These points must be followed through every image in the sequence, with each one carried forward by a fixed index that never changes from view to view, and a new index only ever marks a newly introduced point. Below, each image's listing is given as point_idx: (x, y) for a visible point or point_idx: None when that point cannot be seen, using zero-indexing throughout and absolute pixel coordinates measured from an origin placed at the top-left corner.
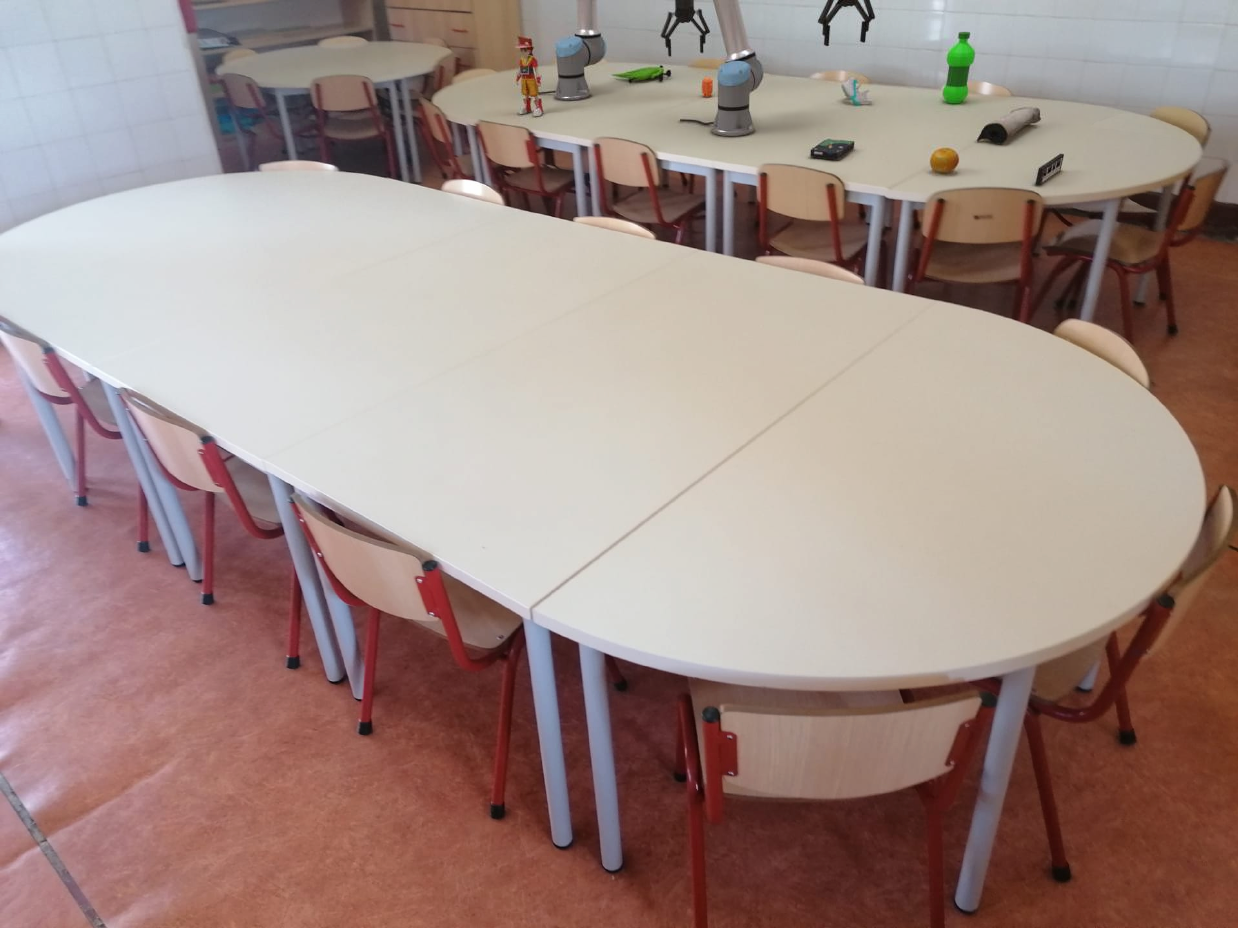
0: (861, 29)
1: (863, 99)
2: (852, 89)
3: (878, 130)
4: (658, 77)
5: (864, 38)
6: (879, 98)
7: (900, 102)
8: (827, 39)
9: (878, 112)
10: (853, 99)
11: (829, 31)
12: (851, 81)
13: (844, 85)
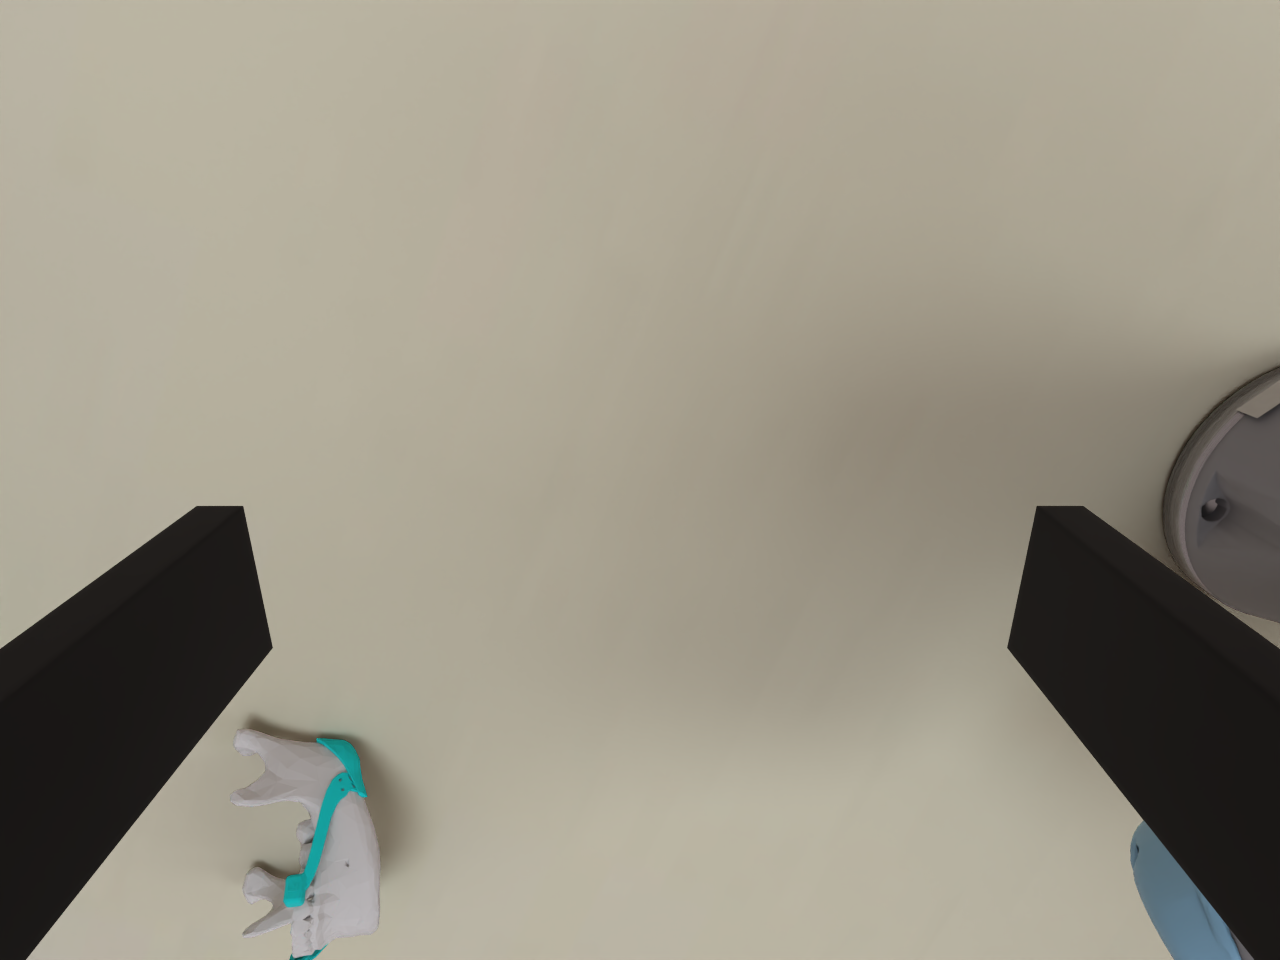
0: (123, 814)
1: (289, 757)
2: (333, 841)
3: (385, 121)
4: None
5: (170, 550)
6: (168, 826)
7: None
8: (1165, 574)
9: None
10: (351, 770)
11: (1275, 689)
12: (318, 905)
13: (372, 891)
